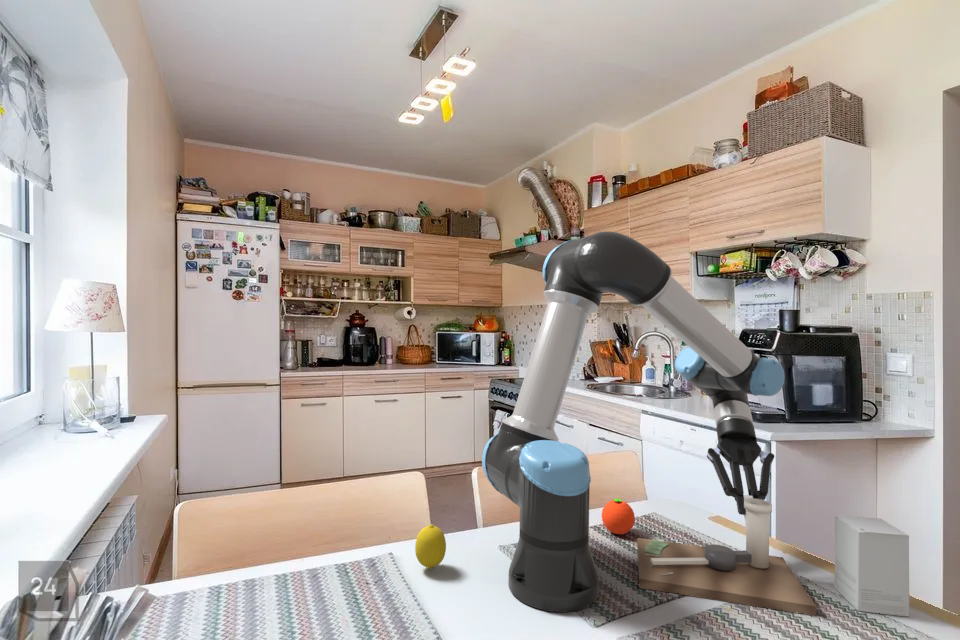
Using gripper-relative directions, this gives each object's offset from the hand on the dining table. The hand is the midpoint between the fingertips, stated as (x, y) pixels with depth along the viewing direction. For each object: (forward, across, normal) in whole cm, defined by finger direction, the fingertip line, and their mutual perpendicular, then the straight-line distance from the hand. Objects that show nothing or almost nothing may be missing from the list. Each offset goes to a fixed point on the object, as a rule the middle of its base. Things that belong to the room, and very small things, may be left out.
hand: (752, 530), depth 93 cm
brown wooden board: (+10, +8, +1) cm, 13 cm away
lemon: (+20, +57, +11) cm, 61 cm away
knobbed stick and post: (+8, +8, +2) cm, 12 cm away
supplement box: (+11, -15, +2) cm, 19 cm away
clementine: (0, +25, -9) cm, 26 cm away
